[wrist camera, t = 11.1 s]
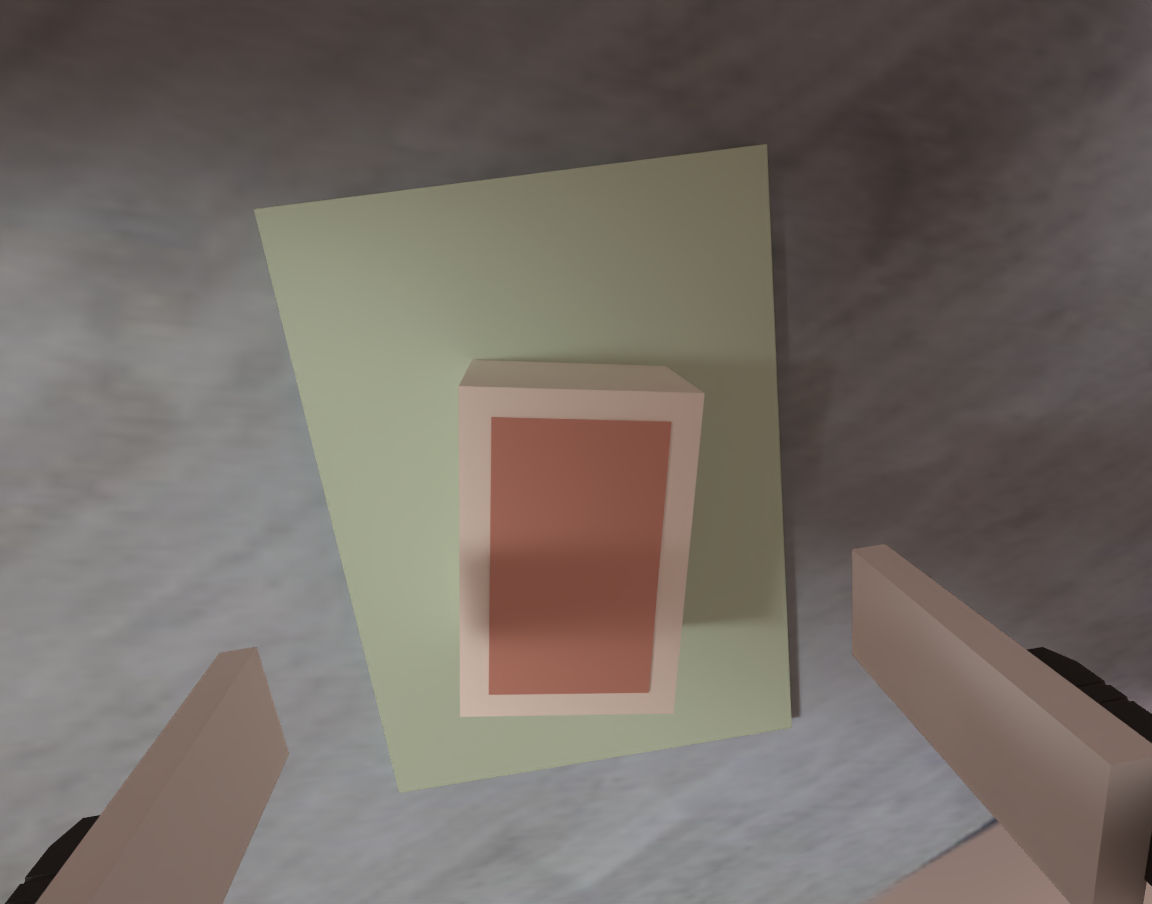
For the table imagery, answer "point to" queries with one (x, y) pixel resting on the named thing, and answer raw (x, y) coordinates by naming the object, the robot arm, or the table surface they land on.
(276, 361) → the table surface
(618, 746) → the mat
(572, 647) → the card box
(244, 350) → the table surface
